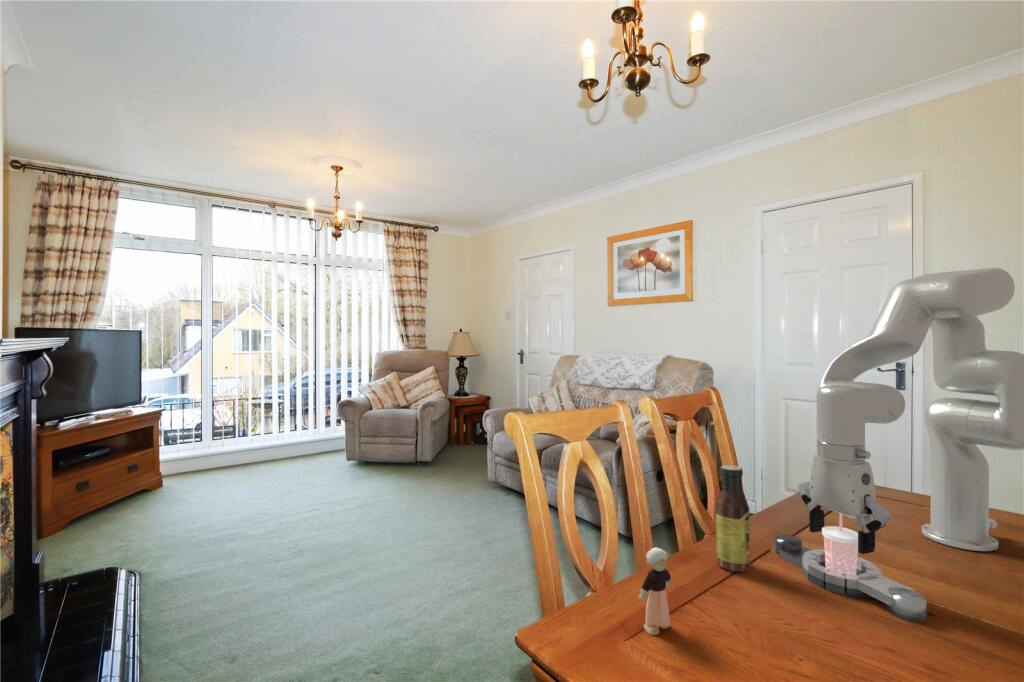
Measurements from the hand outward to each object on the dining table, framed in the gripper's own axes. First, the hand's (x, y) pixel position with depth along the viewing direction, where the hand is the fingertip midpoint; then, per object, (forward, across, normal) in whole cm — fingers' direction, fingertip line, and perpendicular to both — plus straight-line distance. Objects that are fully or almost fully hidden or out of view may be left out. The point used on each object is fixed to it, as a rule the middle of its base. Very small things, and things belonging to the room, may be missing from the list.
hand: (840, 541), depth 91 cm
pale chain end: (+7, -4, 0) cm, 8 cm away
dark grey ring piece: (+7, +4, 0) cm, 8 cm away
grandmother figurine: (+7, -1, +41) cm, 42 cm away
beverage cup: (+7, 0, 0) cm, 8 cm away
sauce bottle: (+7, +11, +15) cm, 20 cm away
